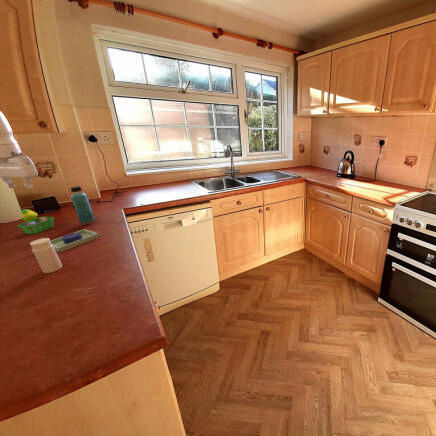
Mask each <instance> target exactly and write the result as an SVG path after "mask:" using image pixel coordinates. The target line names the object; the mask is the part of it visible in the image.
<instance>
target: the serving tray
mask: <svg viewBox="0 0 436 436" xmlns="http://www.w3.org/2000/svg"><path fill="white" fill-rule="evenodd" d="M74 233H80V234H81V236H82V239H80V240H78V241H75V242H72V243H70V244H65V243H64V242H63V239H62V237H64V236H65V235H64V236H60V237H57V238H54V239H52V240H51V239H50V242H51V244H53V246H54V248H55V250H56V252H58V253H62V252H65V251H68V250H70V249H73V248H75V247H77V246H80V245H83V244H86V243H89V242H91V241H94V240H96V239H99V238H100V234H99V233H98V232H95V231H92V230H89V229H85V228H84V229H81V230H78V231H75V232H74Z"/></svg>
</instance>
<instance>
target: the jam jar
mask: <svg viewBox="0 0 436 436" xmlns="http://www.w3.org/2000/svg"><path fill="white" fill-rule="evenodd" d="M50 241H51V239H50V238H49V237H41V238H37V239H35V240H33V241H31V242H30V243H29V245H30V247H31V252H32V253H33V255H34V257H35V260H36V262H37V263H38V265H39V267H40V269H41V271H42V273H43V274H49V273H50V274H51V273H53V272H56V271H58V270H60V269H62V268H63V263H62V261H61V259H60V256H59V254H58V253H57V251H56V250H55V248H54V246H53V244H51V242H50Z"/></svg>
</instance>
